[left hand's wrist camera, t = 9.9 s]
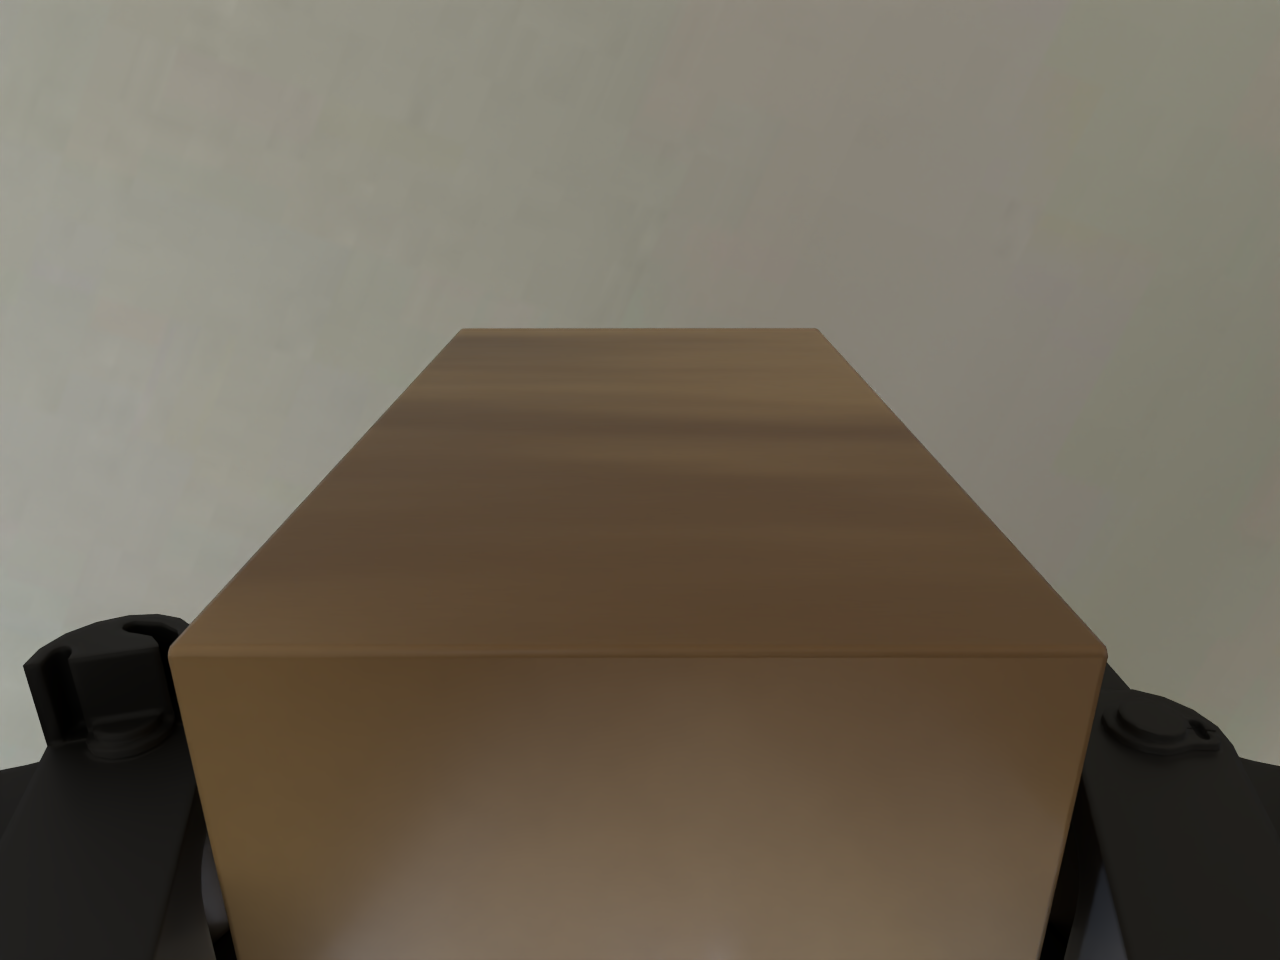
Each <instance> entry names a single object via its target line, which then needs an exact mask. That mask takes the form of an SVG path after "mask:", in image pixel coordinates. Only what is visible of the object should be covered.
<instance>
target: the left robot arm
mask: <svg viewBox="0 0 1280 960" xmlns="http://www.w3.org/2000/svg"><path fill="white" fill-rule="evenodd" d="M188 626H189V624H188V623H186V622H185V621H184V620H182V619H181V618H176V617H171V616H166V615H160V614H147V615H128V616H123V617H119V618H114V619H109V620H104V621H100V622H96V623H93V624H90V625H88V626H85V627H82V628H79V629H77V630H74V631H71V632H69V633H66V634H64V635H62V636H61V637H59V638H57V639H56V640H54V641H52V642H50V643H49V644H47V645H45V646H43V647H42V648H40V649H39V650H38V651H37V652H36V653H35V654H34V655H33V656H32V657H31V658H30V659H29V660H28V661H27V662H26V663H25V664H24V665H23V668H24V671H25V674H26V677H27V681H28V684H29V687H30V691H31V694H32V697H33V700H34V704H35V707H36V710H37V714H38V717H39V720H40V723H41V727H42V730H43V733H44V737H45V740H46V743H47V748H46V750H45V752H44V754H43V756H42V758H41V760H40V762H37V763H33V764H29V765H24V766H19V767H14V768H9V769H4V770H0V960H237V958H236V953H235V949H234V945H233V940H232V936H231V931H230V927H229V923H228V918H227V914H226V910H225V905H224V901H223V896H222V892H221V888H220V883H219V879H218V875H217V870H216V866H215V861H214V857H213V853H212V848H211V844H210V840H209V835H208V831H207V826H206V822H205V818H204V813H203V809H202V805H201V800H200V796H199V791H198V787H197V783H196V778H195V774H194V770H193V765H192V761H191V756H190V752H189V748H188V743H187V739H186V735H185V730H184V726H183V721H182V717H181V713H180V708H179V704H178V700H177V695H176V691H175V686H174V682H173V678H172V673H171V669H170V665H169V660H168V651H169V648H170V646H171V645H172V643H173V642H174V641H175V640H176V639H177V638H178V637H179V636H180V635H181V634H182V633H183V631H184V630H185V629H186V628H187V627H188ZM1040 960H1280V766H1276V765H1271V764H1266V763H1261V762H1256V761H1252V760H1248V759H1244V758H1240V757H1239V756H1238V754H1237V752H1236V750H1235V748H1234V746H1233V745H1232V743H1231V742H1230V741H1229V740H1228V739H1227V737H1226V736H1225V735H1224V734H1223V732H1222V731H1221V730H1220V729H1219V728H1218V726H1216V725H1215V724H1213V723H1212V722H1210V721H1209V720H1207V719H1206V718H1204V717H1203V716H1201V715H1200V714H1199V713H1197V712H1196V711H1194V710H1192V709H1190V708H1188V707H1186V706H1183V705H1181V704H1179V703H1176V702H1174V701H1172V700H1169V699H1167V698H1165V697H1162V696H1157V695H1153V694H1149V693H1145V692H1141V691H1137V690H1133V689H1130V688H1129V687H1128V686H1127V685H1126V684H1125V683H1124V681H1123V680H1122V679H1121V678H1120V677H1119V676H1118V675H1117V673H1116V672H1115V671H1114V670H1113V669H1112V668H1111V667H1110V665H1109V664H1108V663H1106V667H1105V672H1104V676H1103V680H1102V685H1101V689H1100V694H1099V698H1098V703H1097V707H1096V711H1095V716H1094V720H1093V725H1092V729H1091V734H1090V738H1089V742H1088V747H1087V751H1086V756H1085V760H1084V765H1083V769H1082V773H1081V778H1080V782H1079V787H1078V791H1077V796H1076V800H1075V805H1074V809H1073V813H1072V818H1071V822H1070V827H1069V831H1068V836H1067V840H1066V844H1065V849H1064V853H1063V858H1062V862H1061V867H1060V871H1059V875H1058V880H1057V884H1056V889H1055V893H1054V898H1053V902H1052V906H1051V911H1050V915H1049V920H1048V924H1047V929H1046V933H1045V938H1044V942H1043V946H1042V951H1041V955H1040Z"/></svg>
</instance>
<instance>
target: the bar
mask: <svg viewBox="0 0 1280 960" xmlns="http://www.w3.org/2000/svg"><path fill="white" fill-rule="evenodd" d="M1107 658H1108V654H1107V649H1106V646H1105V645H1104V644H1103V643H1102V642H1101V641H1100V639H1099V638H1098V637H1097V636H1096V635H1095V634H1094V633H1093V632H1092V631H1091V630H1090V628H1089V627H1088V626H1087V625H1086V624H1085V623H1084V622H1083V621H1082V620H1081V619H1080V617H1079V616H1078V615H1077V614H1076V613H1075V612H1074V611H1073V610H1072V609H1071V607H1070V606H1069V605H1068V604H1067V603H1066V602H1065V601H1064V600H1063V599H1062V598H1061V596H1060V595H1059V594H1058V593H1057V592H1056V591H1055V590H1054V589H1053V588H1052V587H1051V585H1050V584H1049V583H1048V582H1047V581H1046V580H1045V579H1044V578H1043V577H1042V576H1041V574H1040V573H1039V572H1038V571H1037V570H1036V569H1035V568H1034V567H1033V566H1032V565H1031V563H1030V562H1029V561H1028V560H1027V559H1026V558H1025V557H1024V556H1023V555H1022V554H1021V552H1020V551H1019V550H1018V549H1017V548H1016V547H1015V546H1014V545H1013V544H1012V543H1011V541H1010V540H1009V539H1008V538H1007V537H1006V536H1005V535H1004V534H1003V533H1002V532H1001V530H1000V529H999V528H998V527H997V526H996V525H995V524H994V523H993V522H992V521H991V519H990V518H989V517H988V516H987V515H986V514H985V513H984V512H983V511H982V510H981V508H980V507H979V506H978V505H977V504H976V503H975V502H974V501H973V500H972V499H971V497H970V496H969V495H968V494H967V493H966V492H965V491H964V490H963V489H962V488H961V486H960V485H959V484H958V483H957V482H956V481H955V480H954V479H953V478H952V477H951V475H950V474H949V473H948V472H947V471H946V470H945V469H944V468H943V467H942V466H941V464H940V463H939V462H938V461H937V460H936V459H935V458H934V457H933V456H932V455H931V453H930V452H929V451H928V450H927V449H926V448H925V447H924V446H923V445H922V444H921V442H920V441H919V440H918V439H917V438H916V437H915V436H914V435H913V434H912V433H911V431H910V430H909V429H908V428H907V427H906V426H905V425H904V424H903V423H902V422H901V420H900V419H899V418H898V417H897V416H896V415H895V414H894V413H893V412H892V411H891V409H890V408H889V407H888V406H887V405H886V404H885V403H884V402H883V401H882V399H881V398H880V397H879V396H878V395H877V394H876V393H875V392H874V391H873V390H872V388H871V387H870V386H869V385H868V384H867V383H866V382H865V381H864V380H863V379H862V377H861V376H860V375H859V374H858V373H857V372H856V371H855V370H854V369H853V368H852V366H851V365H850V364H849V363H848V362H847V361H846V360H845V359H844V358H843V357H842V355H841V354H840V353H839V352H838V351H837V350H836V349H835V348H834V347H833V346H832V344H831V343H830V342H829V341H828V340H827V339H826V338H825V337H824V336H823V335H822V333H821V332H820V331H819V330H818V329H815V328H617V329H461V330H460V331H459V332H458V333H457V334H456V335H455V337H454V338H453V339H452V340H451V341H450V342H449V343H448V344H447V345H446V346H445V347H444V348H443V350H442V351H441V352H440V353H439V354H438V355H437V356H436V357H435V358H434V359H433V360H432V362H431V363H430V364H429V365H428V366H427V367H426V368H425V369H424V370H423V371H422V372H421V374H420V375H419V376H418V377H417V378H416V379H415V380H414V381H413V382H412V383H411V384H410V386H409V387H408V388H407V389H406V390H405V391H404V392H403V393H402V394H401V395H400V396H399V397H398V399H397V400H396V401H395V402H394V403H393V404H392V405H391V406H390V407H389V408H388V409H387V411H386V412H385V413H384V414H383V415H382V416H381V417H380V418H379V419H378V420H377V421H376V423H375V424H374V425H373V426H372V427H371V428H370V429H369V430H368V431H367V432H366V433H365V434H364V436H363V437H362V438H361V439H360V440H359V441H358V442H357V443H356V444H355V445H354V446H353V448H352V449H351V450H350V451H349V452H348V453H347V454H346V455H345V456H344V457H343V458H342V460H341V461H340V462H339V463H338V464H337V465H336V466H335V467H334V468H333V469H332V470H331V471H330V473H329V474H328V475H327V476H326V477H325V478H324V479H323V480H322V481H321V482H320V483H319V485H318V486H317V487H316V488H315V489H314V490H313V491H312V492H311V493H310V494H309V495H308V497H307V498H306V499H305V500H304V501H303V502H302V503H301V504H300V505H299V506H298V507H297V508H296V510H295V511H294V512H293V513H292V514H291V515H290V516H289V517H288V518H287V519H286V520H285V522H284V523H283V524H282V525H281V526H280V527H279V528H278V529H277V530H276V531H275V532H274V534H273V535H272V536H271V537H270V538H269V539H268V540H267V541H266V542H265V543H264V544H263V546H262V547H261V548H260V549H259V550H258V551H257V552H256V553H255V554H254V555H253V556H252V557H251V559H250V560H249V561H248V562H247V563H246V564H245V565H244V566H243V567H242V568H241V569H240V571H239V572H238V573H237V574H236V575H235V576H234V577H233V578H232V579H231V580H230V581H229V583H228V584H227V585H226V586H225V587H224V588H223V589H222V590H221V591H220V592H219V593H218V594H217V596H216V597H215V598H214V599H213V600H212V601H211V602H210V603H209V604H208V605H207V606H206V608H205V609H204V610H203V611H202V612H201V613H200V614H199V615H198V616H197V617H196V618H195V620H194V621H193V622H192V623H191V624H190V625H189V626H188V627H187V628H186V629H185V630H184V631H183V633H182V634H181V635H180V636H179V637H178V638H177V639H176V640H175V641H174V642H173V643H172V645H171V646H170V648H169V651H168V660H169V665H170V669H171V673H172V678H173V682H174V686H175V691H176V695H177V700H178V704H179V708H180V713H181V717H182V721H183V726H184V730H185V735H186V739H187V743H188V748H189V752H190V756H191V761H192V765H193V770H194V774H195V778H196V783H197V787H198V791H199V796H200V800H201V805H202V809H203V813H204V818H205V822H206V826H207V831H208V835H209V840H210V844H211V848H212V853H213V857H214V861H215V866H216V870H217V875H218V879H219V883H220V888H221V892H222V896H223V901H224V905H225V910H226V914H227V918H228V923H229V927H230V931H231V936H232V940H233V945H234V949H235V953H236V958H237V960H1040V955H1041V951H1042V946H1043V942H1044V938H1045V933H1046V929H1047V924H1048V920H1049V915H1050V911H1051V906H1052V902H1053V898H1054V893H1055V889H1056V884H1057V880H1058V875H1059V871H1060V867H1061V862H1062V858H1063V853H1064V849H1065V844H1066V840H1067V836H1068V831H1069V827H1070V822H1071V818H1072V813H1073V809H1074V805H1075V800H1076V796H1077V791H1078V787H1079V782H1080V778H1081V773H1082V769H1083V765H1084V760H1085V756H1086V751H1087V747H1088V742H1089V738H1090V734H1091V729H1092V725H1093V720H1094V716H1095V711H1096V707H1097V703H1098V698H1099V694H1100V689H1101V685H1102V680H1103V676H1104V672H1105V667H1106V663H1107Z"/></svg>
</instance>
